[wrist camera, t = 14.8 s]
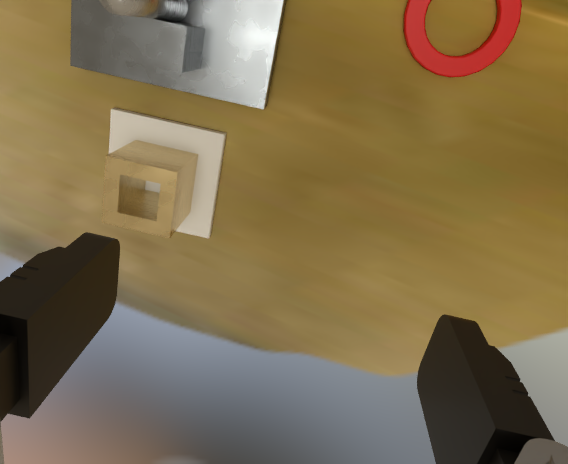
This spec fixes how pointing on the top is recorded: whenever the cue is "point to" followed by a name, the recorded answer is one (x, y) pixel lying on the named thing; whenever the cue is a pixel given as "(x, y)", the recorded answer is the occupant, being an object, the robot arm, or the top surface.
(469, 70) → the tow hook
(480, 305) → the top surface
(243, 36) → the gray base plate
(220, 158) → the pad
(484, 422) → the robot arm
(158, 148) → the collar
